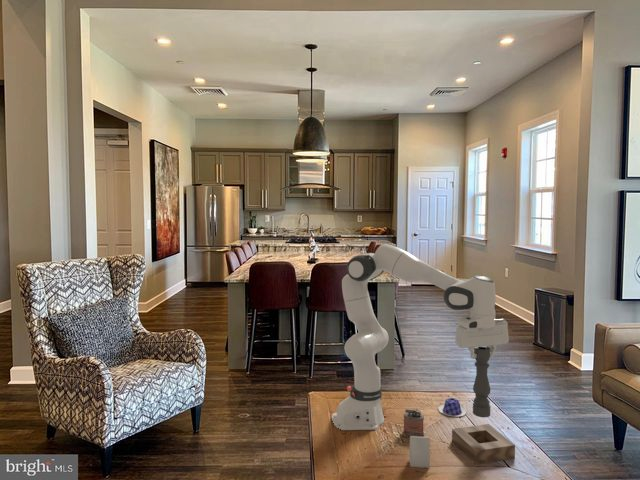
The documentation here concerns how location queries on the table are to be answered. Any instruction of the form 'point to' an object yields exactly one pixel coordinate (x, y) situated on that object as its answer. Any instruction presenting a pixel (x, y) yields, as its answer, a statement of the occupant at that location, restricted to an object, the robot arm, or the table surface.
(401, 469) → the table surface
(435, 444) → the table surface
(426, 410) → the table surface
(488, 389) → the candle holder
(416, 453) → the tea bag
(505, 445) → the walnut collar
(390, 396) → the table surface
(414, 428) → the lighter
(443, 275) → the robot arm
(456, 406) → the pudding
